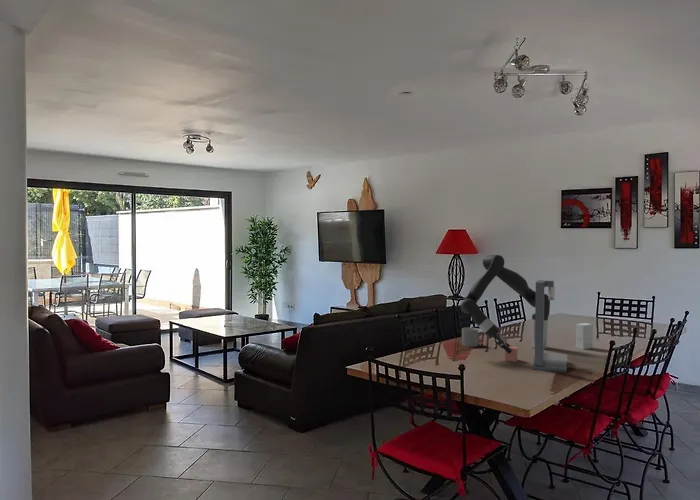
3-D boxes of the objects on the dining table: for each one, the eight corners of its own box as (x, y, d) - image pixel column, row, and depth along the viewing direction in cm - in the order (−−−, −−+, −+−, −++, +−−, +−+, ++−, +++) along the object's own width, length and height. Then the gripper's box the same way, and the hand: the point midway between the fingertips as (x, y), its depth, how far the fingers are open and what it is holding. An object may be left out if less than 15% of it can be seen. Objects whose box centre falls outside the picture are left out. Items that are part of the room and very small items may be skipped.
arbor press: (535, 359, 286) (536, 279, 285) (567, 362, 280) (568, 280, 279) (532, 369, 264) (533, 282, 263) (566, 372, 258) (567, 283, 257)
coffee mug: (474, 347, 318) (474, 330, 317) (459, 345, 323) (459, 329, 323) (482, 343, 328) (482, 327, 328) (467, 341, 334) (467, 326, 334)
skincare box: (584, 346, 321) (585, 322, 321) (593, 348, 316) (593, 324, 315) (575, 347, 317) (575, 323, 317) (583, 349, 312) (583, 325, 312)
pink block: (506, 358, 287) (506, 346, 287) (517, 359, 285) (517, 346, 285) (505, 360, 282) (505, 347, 282) (516, 361, 280) (516, 348, 280)
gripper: (491, 325, 280) (514, 349, 276) (495, 321, 294) (517, 344, 289) (481, 334, 283) (504, 358, 278) (486, 330, 296) (507, 353, 291)
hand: (511, 351), depth 284 cm, fingers closed on pink block, 5 cm apart
